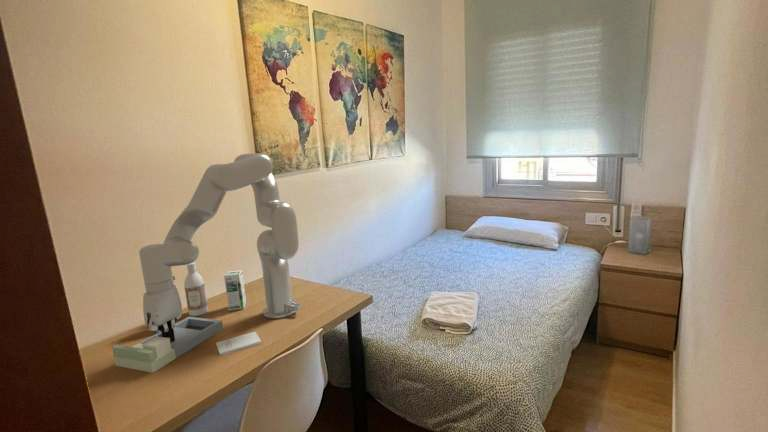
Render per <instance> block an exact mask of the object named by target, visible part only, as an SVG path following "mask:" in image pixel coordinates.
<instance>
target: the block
mask: <svg viewBox="0 0 768 432" xmlns="http://www.w3.org/2000/svg"><path fill="white" fill-rule="evenodd" d="M142 345H143V349H146V350H152V351H154V354H155V357H159V356H160V355H162V354H164V353H165V352H167V351H168V350H170V349H171V344H170V338H165V337H155V338H153V339H151V340H150V341H148V342H146V343H144V344H142Z"/></svg>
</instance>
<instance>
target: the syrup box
mask: <svg viewBox="0 0 768 432" xmlns="http://www.w3.org/2000/svg"><path fill="white" fill-rule="evenodd" d="M223 277H224V285H225V291H226V298H227V306H228V312H232V311H237V310H244V309H245V307H246V305H247V298H246V291H245V284H244V283H245V282H244V276H243V269H240V270H232V271H229V270H228V271H227V272H225V274H224V276H223Z"/></svg>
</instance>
